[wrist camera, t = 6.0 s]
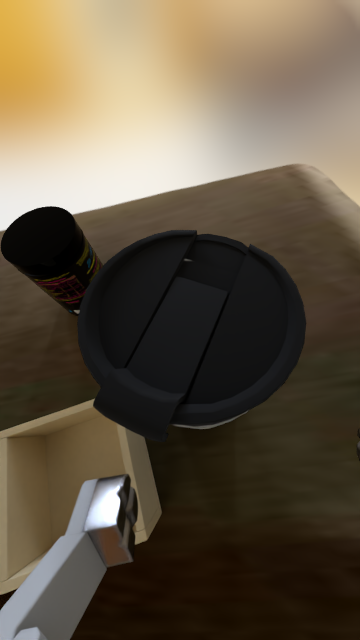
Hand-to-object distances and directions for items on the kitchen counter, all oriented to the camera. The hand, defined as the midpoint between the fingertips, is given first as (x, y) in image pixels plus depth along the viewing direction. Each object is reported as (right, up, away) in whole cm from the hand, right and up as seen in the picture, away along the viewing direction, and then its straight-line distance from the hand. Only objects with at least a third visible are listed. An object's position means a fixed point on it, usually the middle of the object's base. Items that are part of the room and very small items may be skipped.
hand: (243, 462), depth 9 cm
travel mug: (0, -3, +16) cm, 16 cm away
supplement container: (-13, +8, +22) cm, 27 cm away
